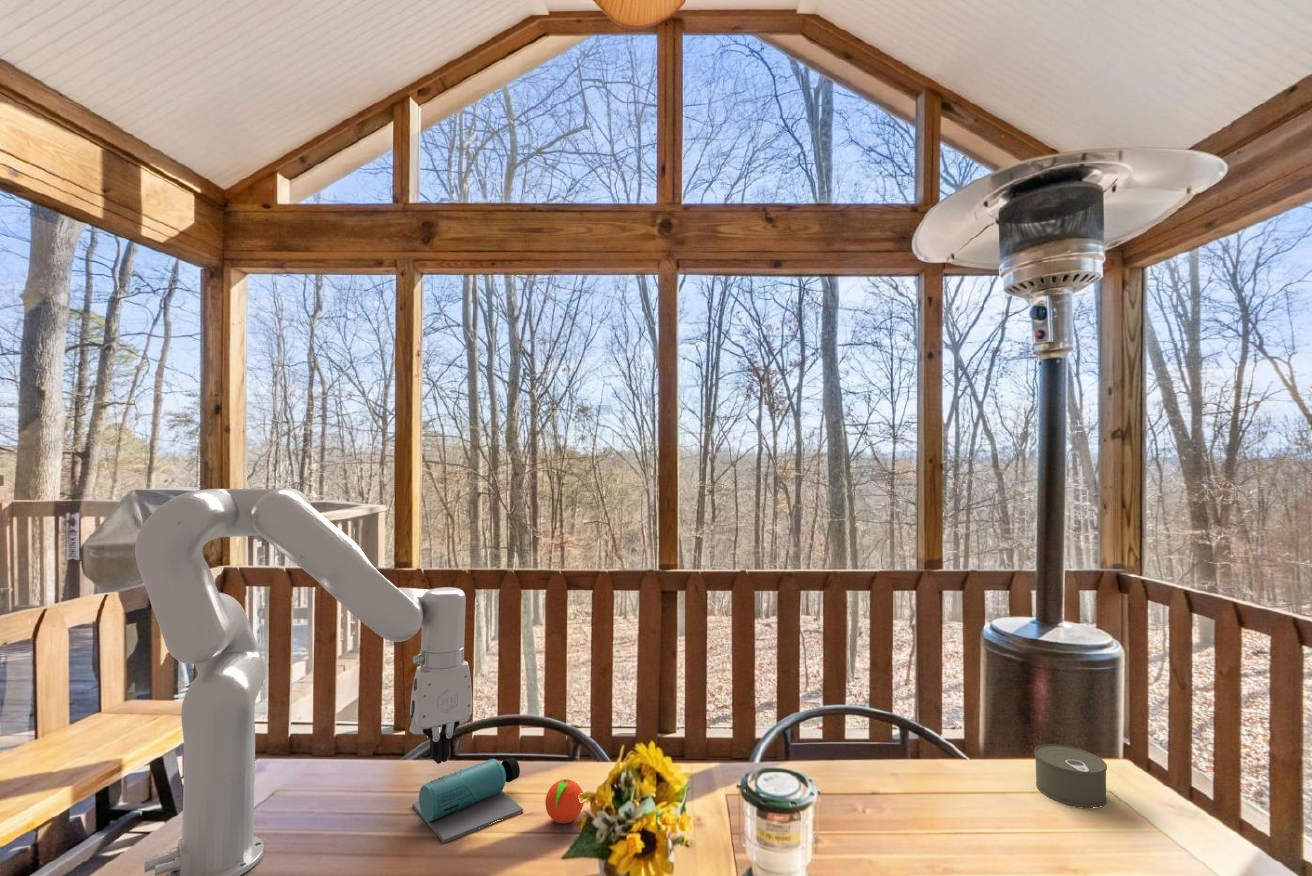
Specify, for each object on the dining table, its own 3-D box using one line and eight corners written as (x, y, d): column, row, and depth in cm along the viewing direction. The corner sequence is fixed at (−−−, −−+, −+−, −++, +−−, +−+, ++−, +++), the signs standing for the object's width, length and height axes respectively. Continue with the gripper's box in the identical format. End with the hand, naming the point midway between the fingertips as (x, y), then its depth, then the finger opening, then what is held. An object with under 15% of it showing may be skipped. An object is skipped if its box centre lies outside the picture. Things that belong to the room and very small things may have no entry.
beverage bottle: (429, 819, 110) (529, 779, 124) (419, 780, 113) (517, 745, 127) (416, 831, 114) (514, 790, 128) (406, 793, 117) (503, 757, 131)
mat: (443, 843, 109) (443, 839, 109) (412, 806, 120) (412, 803, 120) (523, 812, 118) (523, 808, 118) (487, 780, 130) (487, 777, 130)
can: (1085, 779, 132) (1085, 745, 132) (1121, 811, 120) (1120, 773, 120) (1024, 776, 133) (1023, 742, 133) (1053, 807, 121) (1052, 770, 121)
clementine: (574, 837, 111) (575, 795, 111) (536, 832, 112) (537, 791, 112) (588, 812, 119) (589, 773, 119) (553, 808, 120) (553, 769, 120)
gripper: (408, 670, 109) (404, 780, 109) (489, 655, 119) (486, 755, 118) (393, 659, 115) (389, 764, 114) (472, 645, 125) (469, 741, 124)
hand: (439, 759), depth 116 cm, fingers closed
